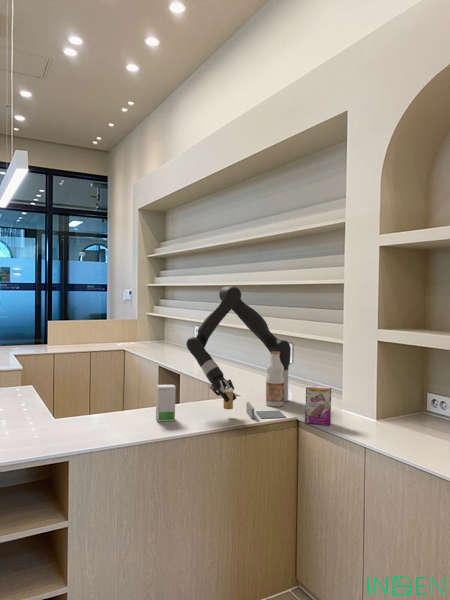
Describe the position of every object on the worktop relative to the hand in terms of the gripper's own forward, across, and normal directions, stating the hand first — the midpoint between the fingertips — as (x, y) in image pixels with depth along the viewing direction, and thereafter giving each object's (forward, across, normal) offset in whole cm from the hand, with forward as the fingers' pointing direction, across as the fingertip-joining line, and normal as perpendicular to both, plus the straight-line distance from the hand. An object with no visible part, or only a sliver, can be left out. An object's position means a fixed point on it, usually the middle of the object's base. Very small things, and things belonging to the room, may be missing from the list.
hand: (231, 400), depth 208 cm
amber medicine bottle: (+2, 0, +4) cm, 5 cm away
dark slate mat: (+13, +17, -2) cm, 21 cm away
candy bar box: (+31, +19, -18) cm, 41 cm away
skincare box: (-9, -23, +20) cm, 32 cm away
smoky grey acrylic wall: (+9, +9, +3) cm, 13 cm away
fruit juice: (+7, +34, +6) cm, 36 cm away
